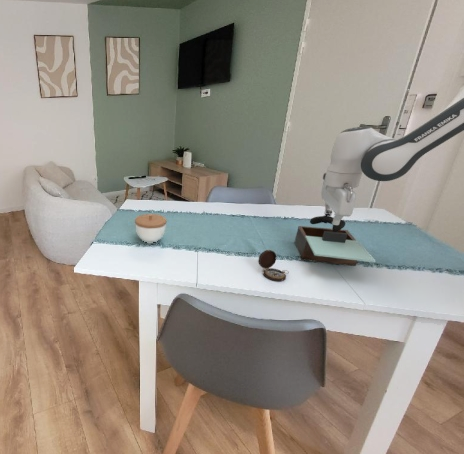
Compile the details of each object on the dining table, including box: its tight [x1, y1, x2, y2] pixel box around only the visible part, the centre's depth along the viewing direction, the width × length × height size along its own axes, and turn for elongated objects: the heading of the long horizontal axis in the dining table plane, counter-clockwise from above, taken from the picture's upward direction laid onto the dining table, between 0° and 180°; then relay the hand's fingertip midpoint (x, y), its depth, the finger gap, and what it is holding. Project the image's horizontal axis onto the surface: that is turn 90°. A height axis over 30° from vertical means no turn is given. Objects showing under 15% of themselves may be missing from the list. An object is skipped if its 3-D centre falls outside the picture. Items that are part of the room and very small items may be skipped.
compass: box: [257, 249, 290, 282], centre depth 91 cm, size 8×8×7 cm
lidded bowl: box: [134, 213, 168, 244], centre depth 118 cm, size 13×13×11 cm
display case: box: [294, 225, 358, 267], centre depth 102 cm, size 15×14×7 cm
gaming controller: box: [309, 214, 346, 232], centre depth 100 cm, size 10×5×6 cm
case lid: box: [305, 231, 376, 263], centre depth 91 cm, size 15×14×4 cm
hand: (331, 219), depth 99 cm, fingers closed on gaming controller, 7 cm apart
